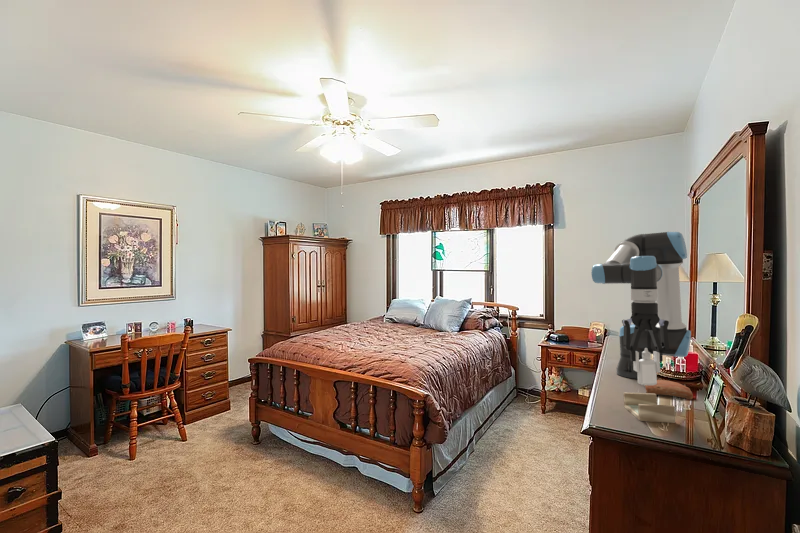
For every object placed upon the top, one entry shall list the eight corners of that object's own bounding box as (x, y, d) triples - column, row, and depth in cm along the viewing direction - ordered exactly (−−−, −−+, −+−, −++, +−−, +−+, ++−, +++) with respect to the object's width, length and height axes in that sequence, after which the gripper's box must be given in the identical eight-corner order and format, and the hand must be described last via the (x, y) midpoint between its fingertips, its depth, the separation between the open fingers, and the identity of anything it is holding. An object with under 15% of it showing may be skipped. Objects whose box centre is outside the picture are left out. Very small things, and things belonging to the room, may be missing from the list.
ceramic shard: (686, 377, 152) (694, 393, 139) (683, 392, 153) (691, 409, 140) (643, 368, 159) (646, 383, 146) (640, 383, 160) (644, 398, 147)
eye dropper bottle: (658, 386, 124) (657, 349, 124) (638, 385, 126) (637, 348, 126) (655, 383, 128) (654, 347, 128) (636, 381, 130) (635, 346, 130)
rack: (624, 406, 134) (623, 392, 134) (655, 408, 132) (654, 393, 132) (640, 421, 121) (639, 405, 121) (675, 422, 119) (674, 406, 119)
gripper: (618, 302, 126) (620, 373, 125) (681, 302, 122) (683, 375, 121) (610, 301, 133) (612, 367, 132) (669, 301, 129) (671, 369, 129)
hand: (646, 371), depth 127 cm, fingers closed on eye dropper bottle, 5 cm apart
